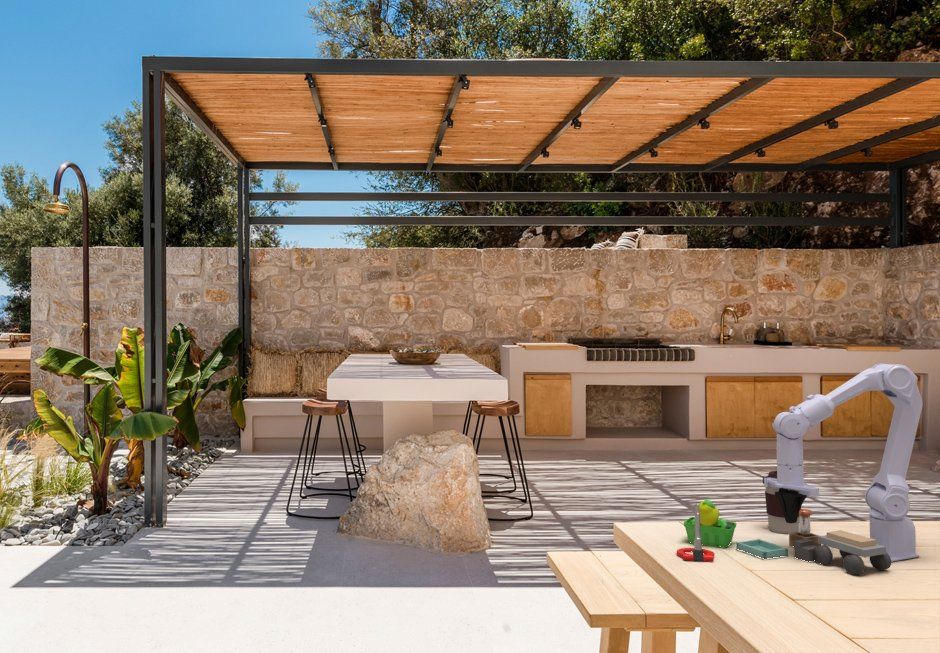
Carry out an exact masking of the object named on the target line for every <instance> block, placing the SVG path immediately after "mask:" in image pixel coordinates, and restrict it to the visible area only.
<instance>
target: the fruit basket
mask: <svg viewBox="0 0 940 653" xmlns="http://www.w3.org/2000/svg"><path fill="white" fill-rule="evenodd" d="M698 504H699V513H700V531H701V538H702V544H703V545H702V546H708V545H709V547H714V546H721V547H727V546H728V545H729V544H730V542H731V543H732V541H733V538H734V537H733V536H734V532H735V529H736V527H737V525H738V524H737V522H735V521H727V520H725V519H723V518H720V513H721V512H720V510H719V508H717V507H716V506H715V505H714V503H713V502H712V500H710V499H704V500H703V501H700V503H698ZM682 524H683V526H684V528H685V531H686V536H687V540H688V543H689V542H691V543H690V544H694V538H695V516H694V517H693V516H691V517H689V518H688V519H686V520H684V521H683V523H682ZM730 545H731V544H730ZM730 545H729V546H730ZM729 546H728V547H729ZM721 547H720V548H721Z"/></svg>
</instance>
